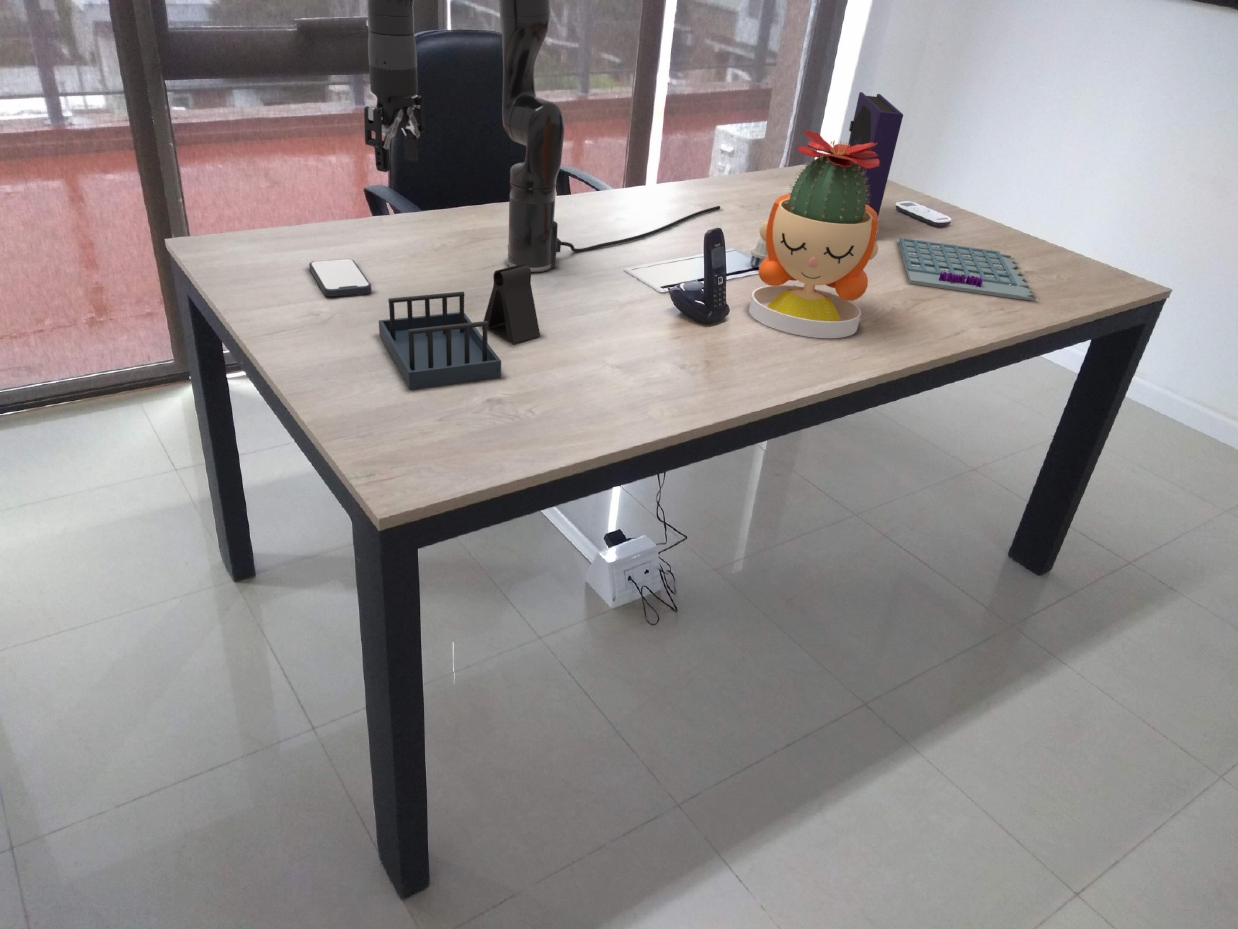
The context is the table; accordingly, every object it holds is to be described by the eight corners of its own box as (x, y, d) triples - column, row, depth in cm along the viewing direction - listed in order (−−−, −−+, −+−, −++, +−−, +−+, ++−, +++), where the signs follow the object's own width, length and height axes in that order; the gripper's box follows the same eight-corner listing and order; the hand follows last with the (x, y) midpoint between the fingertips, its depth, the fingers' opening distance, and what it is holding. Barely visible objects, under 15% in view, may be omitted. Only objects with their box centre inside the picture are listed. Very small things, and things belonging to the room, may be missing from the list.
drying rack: (463, 327, 163) (463, 282, 158) (500, 377, 148) (501, 330, 143) (379, 336, 157) (376, 290, 152) (409, 389, 142) (407, 340, 137)
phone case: (308, 269, 179) (325, 298, 167) (307, 261, 178) (324, 290, 167) (353, 265, 183) (373, 294, 171) (352, 257, 182) (373, 286, 170)
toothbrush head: (841, 239, 211) (767, 238, 196) (832, 267, 214) (759, 268, 199) (825, 232, 214) (751, 231, 199) (816, 259, 217) (743, 260, 202)
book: (874, 240, 225) (905, 114, 209) (849, 238, 225) (878, 111, 209) (854, 211, 245) (881, 93, 229) (831, 209, 245) (857, 91, 228)
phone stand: (482, 326, 164) (482, 262, 157) (508, 319, 167) (510, 256, 161) (513, 344, 158) (515, 279, 152) (540, 336, 162) (542, 272, 156)
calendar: (1011, 258, 223) (1014, 249, 221) (1036, 301, 199) (1039, 291, 198) (898, 243, 226) (901, 233, 224) (909, 283, 202) (912, 273, 200)
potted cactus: (854, 346, 170) (902, 155, 152) (738, 322, 175) (770, 134, 156) (863, 305, 188) (906, 130, 169) (757, 285, 193) (788, 112, 174)
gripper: (387, 72, 139) (393, 179, 148) (436, 60, 150) (439, 160, 159) (346, 64, 141) (353, 170, 150) (397, 53, 152) (402, 152, 161)
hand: (397, 165), depth 154 cm, fingers open, 8 cm apart
